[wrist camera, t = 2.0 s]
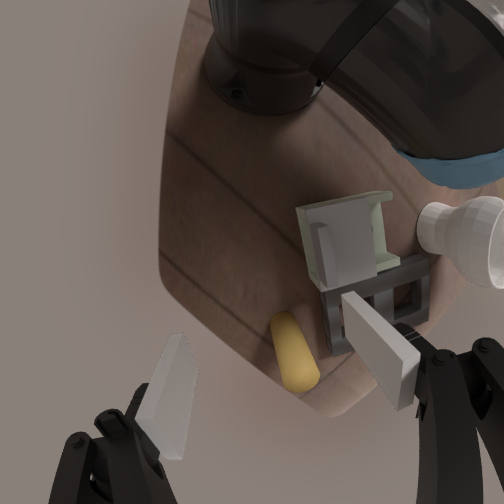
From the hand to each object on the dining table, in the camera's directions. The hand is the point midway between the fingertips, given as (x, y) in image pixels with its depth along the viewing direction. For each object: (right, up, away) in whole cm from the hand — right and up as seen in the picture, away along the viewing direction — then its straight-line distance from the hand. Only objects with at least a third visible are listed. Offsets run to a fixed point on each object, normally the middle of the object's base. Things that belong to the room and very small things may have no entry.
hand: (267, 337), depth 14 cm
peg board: (+17, -2, +21) cm, 27 cm away
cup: (+26, +8, +20) cm, 34 cm away
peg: (+3, -5, +21) cm, 22 cm away
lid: (+9, +5, +14) cm, 18 cm away
